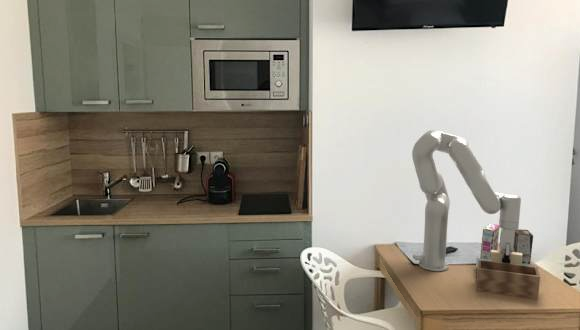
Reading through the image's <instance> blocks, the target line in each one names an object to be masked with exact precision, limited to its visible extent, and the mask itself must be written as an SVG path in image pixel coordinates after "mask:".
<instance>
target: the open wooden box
mask: <svg viewBox="0 0 580 330" xmlns="http://www.w3.org/2000/svg"><path fill="white" fill-rule="evenodd" d="M534 266H535V265H534ZM534 266H526V265H518V264H511V263H503V262H495V261H487V260H479V259H478V267H477V270H476V281H475V282H476V284H475V291H477V292H485V293H492V294H498V295H499V294H500V295H505V296H510V297H511V296H512V297H518V298H526V299H531V300H532V299H533V300H539V293H540V292H539V291H540V283H541V281H540V280H541V276H540V272H539V270H538V267H537V266H535V267H534Z"/></svg>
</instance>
